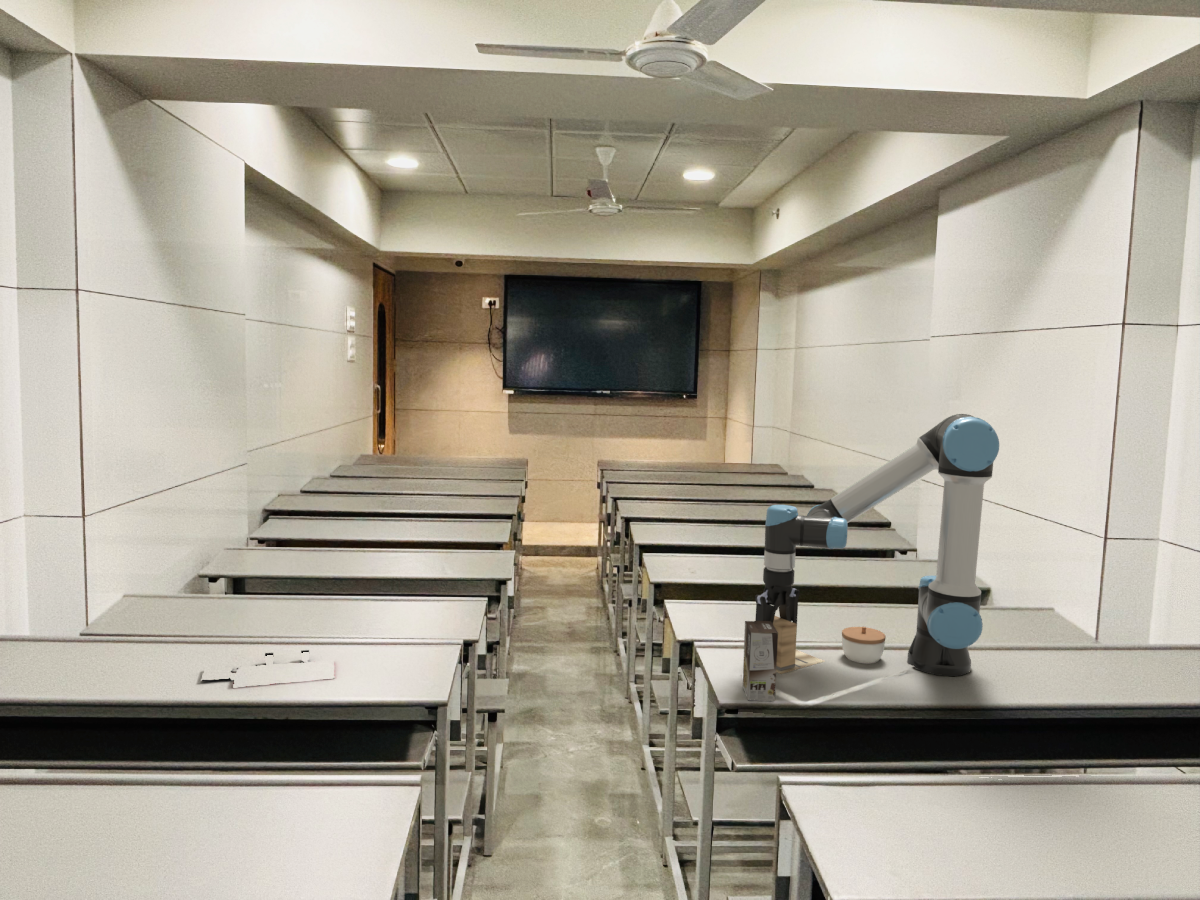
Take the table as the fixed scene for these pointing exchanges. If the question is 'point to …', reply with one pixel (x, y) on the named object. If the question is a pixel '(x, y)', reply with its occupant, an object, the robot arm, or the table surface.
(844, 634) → the lidded jar
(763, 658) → the coffee box
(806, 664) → the board
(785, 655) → the block
